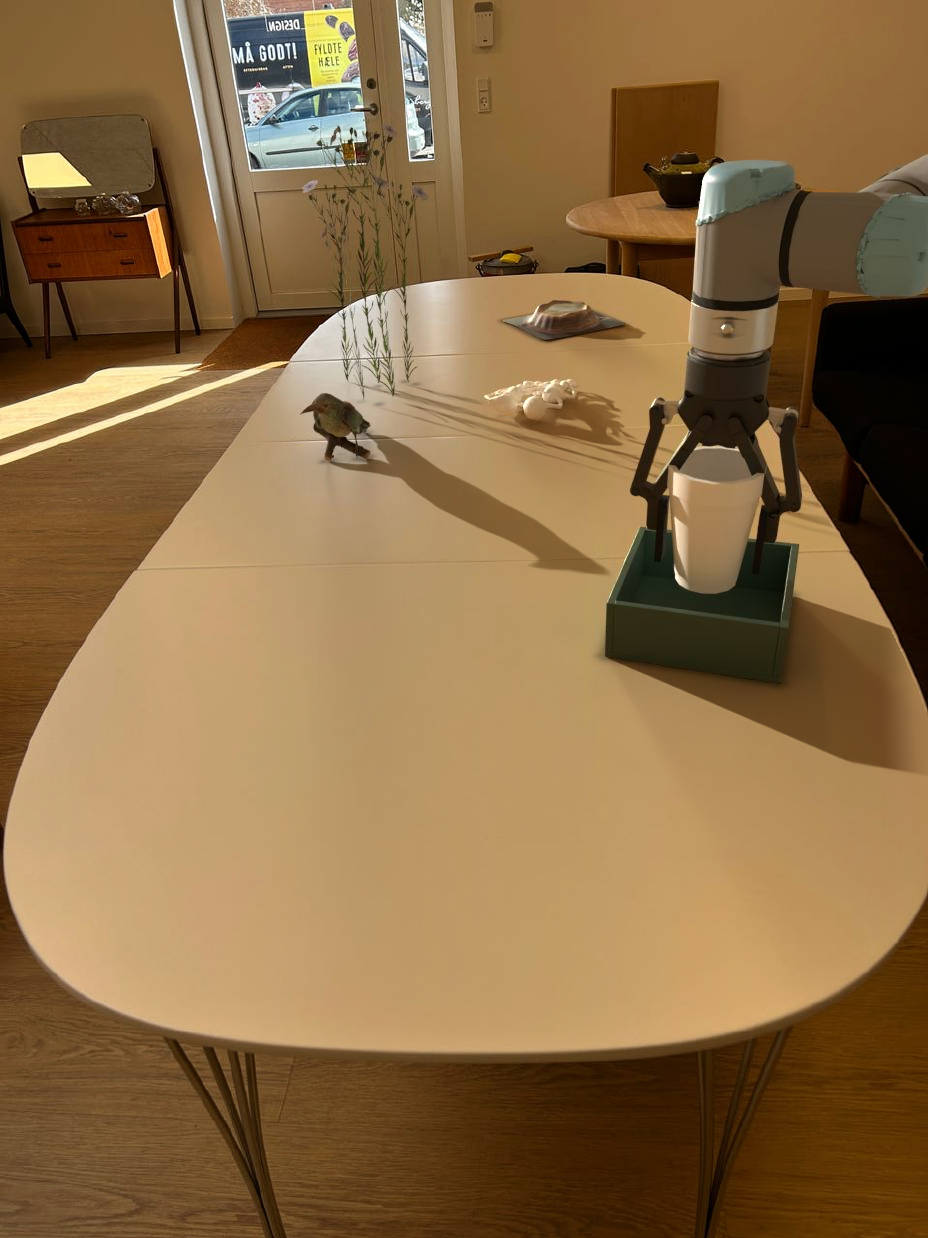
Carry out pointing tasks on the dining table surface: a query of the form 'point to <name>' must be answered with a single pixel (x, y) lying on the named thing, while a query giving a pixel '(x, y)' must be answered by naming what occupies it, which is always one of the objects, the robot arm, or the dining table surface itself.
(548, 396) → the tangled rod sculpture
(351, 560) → the dining table surface
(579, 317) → the quiche
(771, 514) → the robot arm
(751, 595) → the dish tub
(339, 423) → the bird figurine
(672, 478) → the foam cup
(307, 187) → the wildflower
